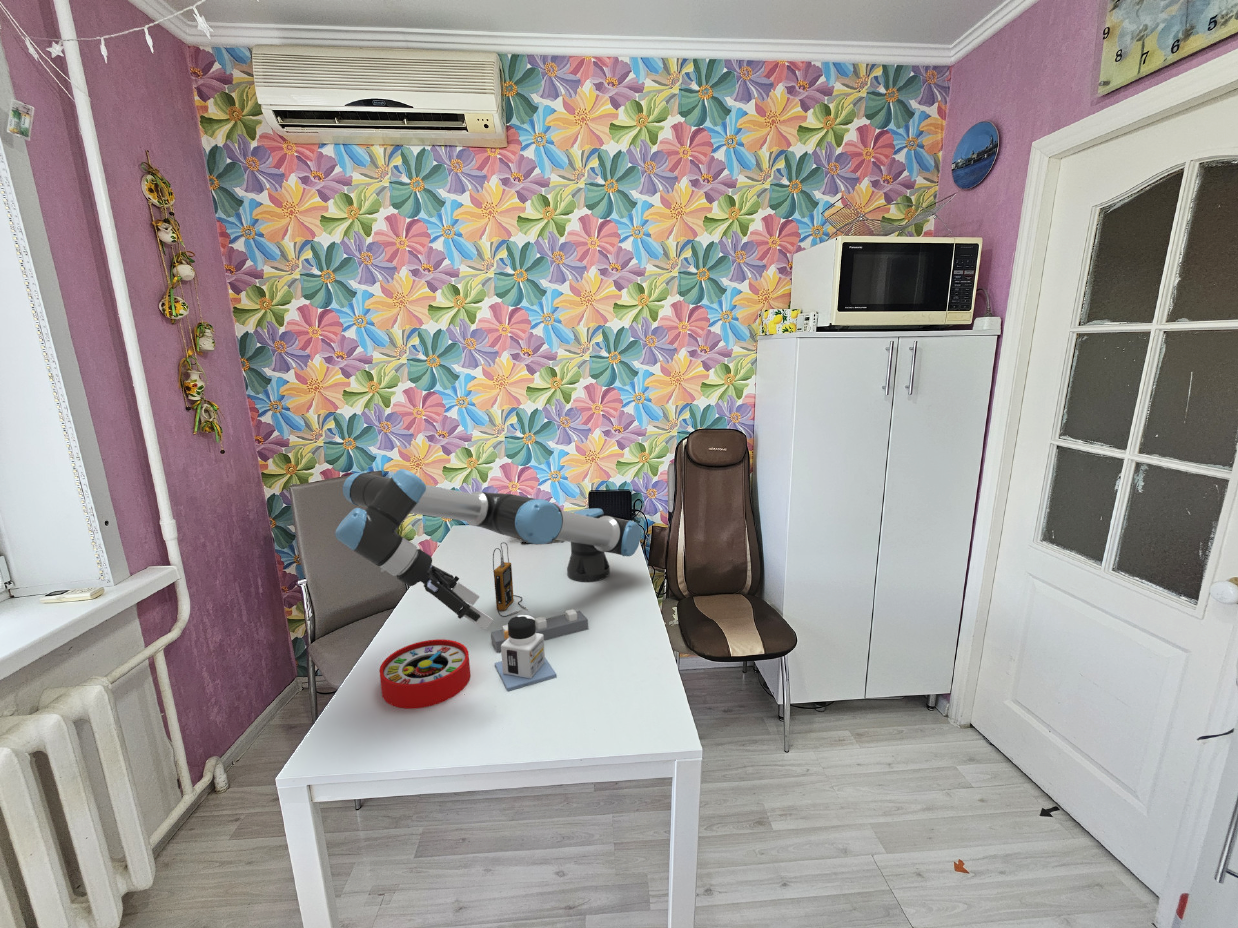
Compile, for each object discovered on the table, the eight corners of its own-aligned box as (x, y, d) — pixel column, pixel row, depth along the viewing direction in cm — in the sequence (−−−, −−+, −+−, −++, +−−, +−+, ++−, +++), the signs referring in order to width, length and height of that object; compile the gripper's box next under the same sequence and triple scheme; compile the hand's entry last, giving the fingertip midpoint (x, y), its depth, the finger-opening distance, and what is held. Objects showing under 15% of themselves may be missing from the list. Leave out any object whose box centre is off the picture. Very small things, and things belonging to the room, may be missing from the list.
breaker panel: (580, 620, 158) (579, 604, 157) (588, 628, 153) (587, 612, 152) (491, 642, 147) (490, 625, 146) (496, 652, 141) (495, 634, 141)
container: (531, 679, 128) (528, 628, 125) (502, 674, 130) (498, 624, 128) (545, 662, 135) (542, 613, 133) (518, 657, 137) (515, 609, 135)
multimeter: (522, 618, 160) (518, 554, 156) (491, 616, 162) (486, 552, 158) (539, 597, 174) (536, 538, 170) (510, 595, 176) (506, 536, 172)
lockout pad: (540, 653, 141) (540, 650, 140) (556, 676, 130) (556, 673, 130) (494, 665, 135) (494, 662, 135) (507, 691, 125) (507, 688, 125)
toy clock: (359, 677, 122) (416, 634, 140) (362, 701, 123) (419, 655, 142) (435, 692, 116) (484, 645, 135) (437, 716, 117) (486, 666, 136)
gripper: (390, 558, 126) (461, 604, 136) (399, 598, 104) (483, 650, 114) (412, 532, 128) (480, 580, 137) (426, 567, 106) (506, 620, 115)
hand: (482, 611), depth 125 cm, fingers open, 13 cm apart
